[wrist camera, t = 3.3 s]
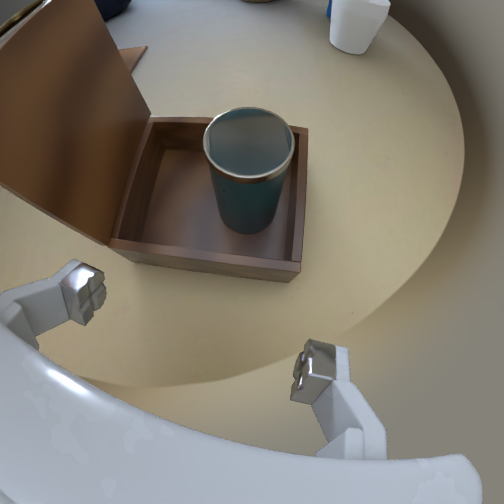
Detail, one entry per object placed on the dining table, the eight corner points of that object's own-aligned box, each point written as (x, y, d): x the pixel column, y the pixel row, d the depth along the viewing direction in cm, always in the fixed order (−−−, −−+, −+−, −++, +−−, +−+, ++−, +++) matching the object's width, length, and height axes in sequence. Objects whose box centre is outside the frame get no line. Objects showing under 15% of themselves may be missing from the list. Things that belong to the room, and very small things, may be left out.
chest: (298, 160, 30) (308, 128, 24) (288, 283, 26) (300, 272, 21) (162, 147, 30) (149, 116, 24) (132, 262, 26) (106, 247, 21)
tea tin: (274, 238, 26) (292, 184, 16) (213, 231, 26) (193, 173, 16) (279, 184, 28) (296, 112, 17) (222, 178, 28) (212, 103, 17)
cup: (315, 30, 37) (326, -21, 26) (358, 35, 38) (374, -11, 26) (333, 56, 35) (350, -1, 23) (379, 61, 36) (401, 11, 24)
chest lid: (83, -24, 8) (74, -19, 8) (-60, 136, 4) (-63, 140, 4) (151, 113, 24) (144, 113, 24) (108, 246, 20) (100, 245, 20)
